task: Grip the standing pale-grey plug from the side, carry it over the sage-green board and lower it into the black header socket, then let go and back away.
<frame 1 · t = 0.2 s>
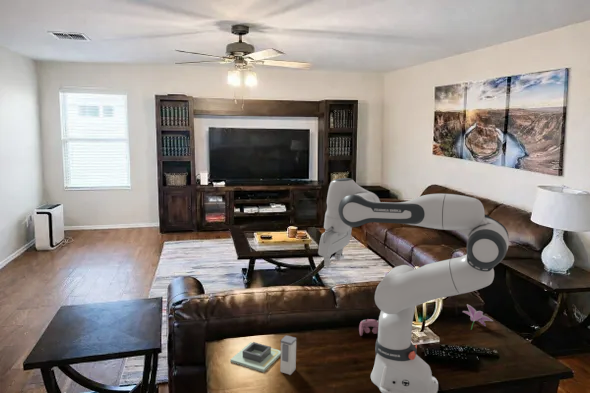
hand: (332, 262, 162), 38 cm above the table, tool pointing down, fingers open, 8 cm apart
lily: (475, 326, 200), on the table
plug: (288, 370, 164), on the table
video game controller: (370, 334, 191), on the table
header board: (256, 357, 172), on the table
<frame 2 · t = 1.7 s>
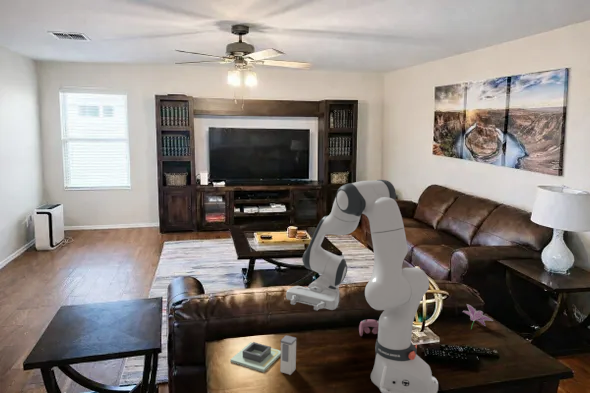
hand: (303, 305, 171), 20 cm above the table, tool horizontal, fingers open, 8 cm apart
nothing on the table moved.
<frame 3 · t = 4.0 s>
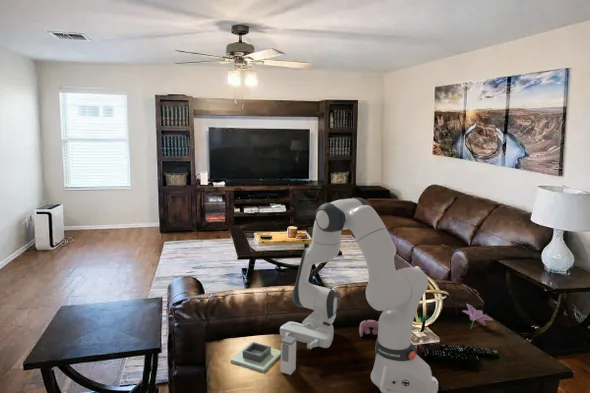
hand: (297, 343, 169), 7 cm above the table, tool horizontal, fingers open, 8 cm apart
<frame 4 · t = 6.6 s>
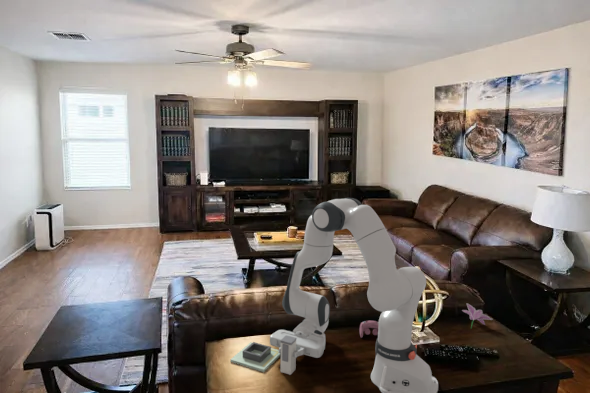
hand: (287, 353, 162), 7 cm above the table, tool horizontal, fingers closed on plug, 4 cm apart
plug: (288, 370, 164), on the table, touching gripper
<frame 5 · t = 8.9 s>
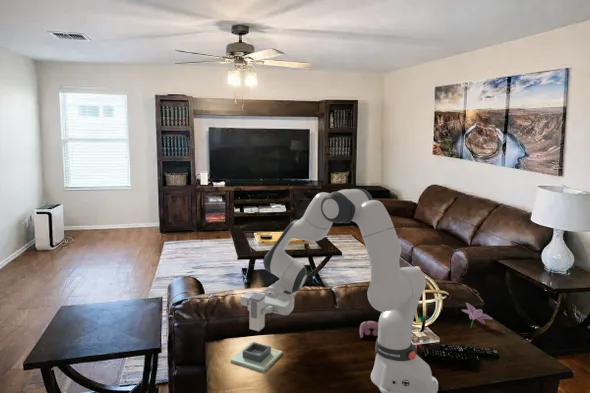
hand: (255, 310, 167), 19 cm above the table, tool horizontal, fingers closed on plug, 4 cm apart
plug: (257, 327, 170), point 12 cm above the table, touching gripper
when the fingers open (9 cm above the table, at t = 11.4 s): plug stays where it is, resting on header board.
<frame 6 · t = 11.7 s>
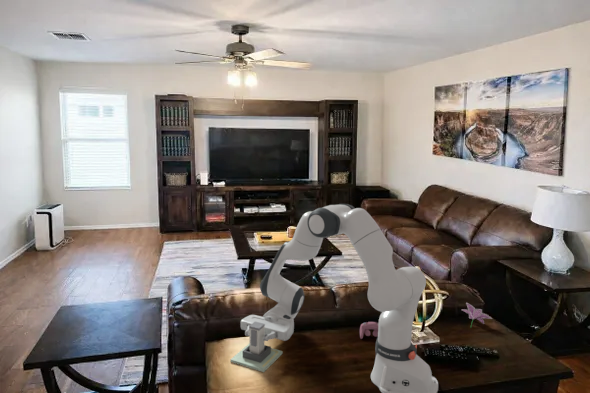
hand: (255, 336, 169), 9 cm above the table, tool horizontal, fingers open, 6 cm apart
plug: (257, 355, 172), point 1 cm above the table, touching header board
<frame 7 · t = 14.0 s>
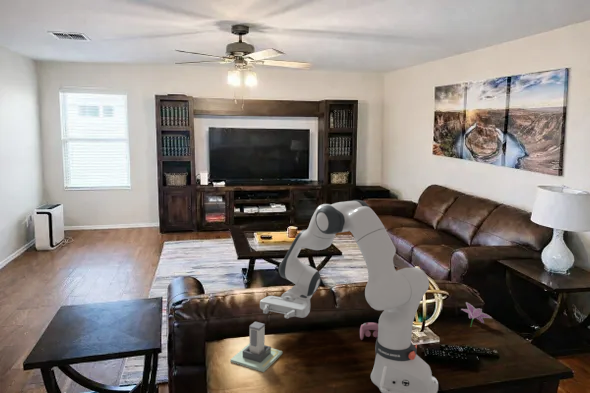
hand: (275, 314, 180), 13 cm above the table, tool horizontal, fingers open, 8 cm apart
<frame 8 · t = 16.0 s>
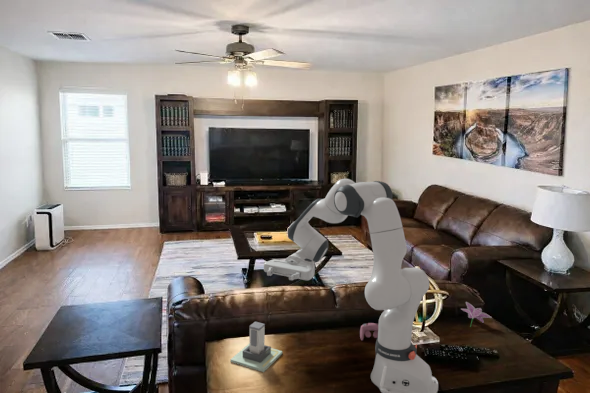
hand: (279, 275, 177), 28 cm above the table, tool horizontal, fingers open, 8 cm apart
at the end: plug 0.0 cm off-centre on the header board, point 1.0 cm above the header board's base; plug tilted 0°; the gripper is holding nothing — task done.
